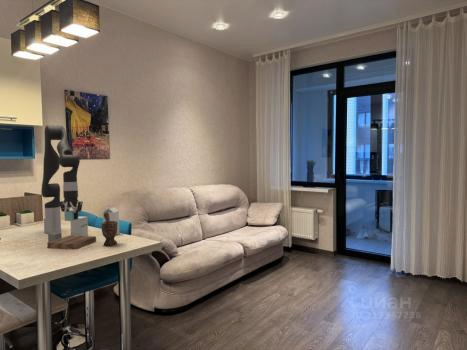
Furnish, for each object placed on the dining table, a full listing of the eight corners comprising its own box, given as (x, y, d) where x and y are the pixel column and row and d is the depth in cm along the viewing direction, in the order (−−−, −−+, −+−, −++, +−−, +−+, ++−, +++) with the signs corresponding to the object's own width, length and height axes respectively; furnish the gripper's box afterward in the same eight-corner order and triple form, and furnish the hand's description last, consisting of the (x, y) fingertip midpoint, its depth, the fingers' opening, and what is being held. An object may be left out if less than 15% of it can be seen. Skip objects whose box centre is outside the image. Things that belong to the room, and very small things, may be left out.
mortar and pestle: (119, 246, 185) (118, 211, 184) (103, 248, 181) (102, 212, 180) (116, 242, 195) (116, 208, 194) (101, 244, 191) (100, 209, 190)
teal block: (64, 220, 188) (64, 211, 188) (70, 219, 193) (70, 210, 193) (72, 220, 187) (72, 212, 187) (78, 219, 192) (78, 210, 192)
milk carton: (119, 233, 219) (118, 204, 218) (114, 235, 212) (113, 206, 211) (109, 233, 219) (108, 204, 218) (103, 235, 212) (102, 206, 211)
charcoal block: (48, 242, 197) (48, 234, 197) (54, 240, 202) (54, 232, 202) (55, 242, 196) (55, 234, 196) (61, 240, 201) (61, 232, 201)
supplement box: (81, 238, 206) (80, 218, 205) (70, 238, 207) (69, 218, 207) (88, 235, 213) (87, 216, 212) (78, 235, 215) (77, 216, 214)
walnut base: (47, 248, 184) (47, 242, 184) (69, 240, 201) (69, 235, 201) (75, 249, 180) (75, 244, 180) (96, 241, 198) (95, 236, 197)
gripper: (54, 190, 187) (56, 220, 188) (77, 190, 184) (78, 220, 185) (64, 189, 194) (65, 217, 195) (85, 189, 191) (86, 218, 192)
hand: (71, 219), depth 190 cm, fingers closed on teal block, 5 cm apart
